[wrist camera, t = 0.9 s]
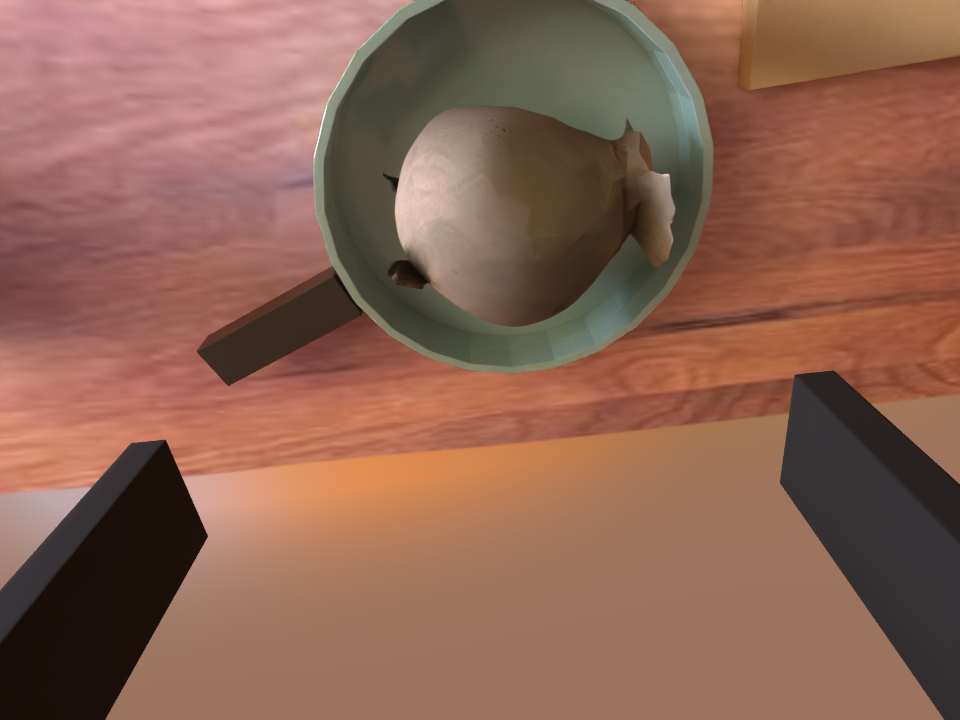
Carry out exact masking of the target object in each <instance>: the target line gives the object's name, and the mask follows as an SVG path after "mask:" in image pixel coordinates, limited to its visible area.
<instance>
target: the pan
mask: <svg viewBox="0 0 960 720" xmlns="http://www.w3.org/2000/svg"><path fill="white" fill-rule="evenodd" d="M470 105H471V106H500V107H516V108H520V109H524V110H527V111H531V112H535V113H538V114H542V115H546V116H549V117H553V118H555V119H557V120H559V121H561V122H563V123H565V124H566V125H568V126H571V127H573V128H576V129H578V130H582V131H585V132H588V133H591V134H593V135H596V136H598V137H601V138H604V139H608V140H617V139H619V138H620V137H622V136H623V134H624V131H625V125H626V119H627V118H628V120H629V122H630V124H631V126H632V128H633V130H634V131H637V132H641V133H642V135H643V137H644V139H645V141H646V143H647V145H648V147H649V148H650V153H651V159H652V164H653V170H654V172H655V173H658V174H662V175H663V174H669V175H670V187H671V196H672V199H673V203H674V206H675V213H674V217H673V222H672V223H671V224H670V228H671V232H672V235H673V238H674V241H673V244H672V246H671V249H670V253H669V257H668V260H667V261H665V262H662V265H661V266H659V267H654V266H653V265H652V264H651V262H650V261H649V259H648V258H647V256H646V255H645V253H644V251H643V250H642V248H641V247H640V245H639V244H638V243H637V241H636V240H635V239H634V238H633V236H632V235H631V234H630V235H629V236H628V238H627V239H626V240H625V242H624V243H623V244H622V246H621V249H620V250H619V251H618V253H617V254H616V255H615V256H614V257H613V258H612V259H611V260H610V261H609V263H608V264H607V265H606V267H605V268H604V269H603V271H602V272H601V273H600V275H599V276H598V277H597V279H596V280H595V281H594V282H593V284H592V285H591V286H590V287H589V288H588V289H587V290H586V292H585V293H584V294H583V295H582V296H581V297H580V298H579V299H578V300H577V301H576V302H574V303H573V304H572V305H571V306H570V307H568V308H567V309H565V310H564V311H562V312H560V313H559V314H557V315H555V316H553V317H551V318H549V319H546V320H543V321H541V322H538V323H535V324H531V325H527V326H520V327H508V326H502V325H497V324H494V323H491V322H488V321H485V320H483V319H480V318H478V317H476V316H474V315H472V314H470V313H468V312H466V311H464V310H463V309H461V308H460V307H458V306H456V305H455V304H453V303H451V302H449V301H447V300H446V299H444V298H443V297H441V296H440V295H438V294H437V293H436V292H434V291H433V290H432V289H431V288H430V287H429V286H428V285H427V284H425V285H424V288H423V289H422V290H421V289H415V288H411V287H406V286H401V285H397V284H396V282H395V281H394V280H393V279H392V278H390V277H389V276H388V272H387V269H388V267H389V266H390V264H391V263H393V262H395V261H397V260H408V258H407V256H406V253H405V251H404V249H403V247H402V245H401V243H400V240H399V237H398V232H397V226H396V219H395V201H396V194H397V193H396V192H394V191H393V190H391V189H390V181H389V180H387V179H386V178H385V177H384V176H383V172H384V173H385V174H386V175H388V176H392V177H395V178H400V173H401V170H402V166H403V163H404V160H405V158H406V156H407V154H408V152H409V150H410V148H411V147H412V145H413V143H414V142H415V140H416V139H417V137H418V136H419V134H420V133H421V132H422V130H423V129H424V128H425V127H426V125H427V124H428V123H429V122H430V121H431V120H432V119H433V118H434V117H435V116H437V115H438V114H440V113H442V112H444V111H447V110H450V109H454V108H458V107H464V106H470ZM713 147H714V144H713V139H712V135H711V130H710V126H709V121H708V117H707V112H706V108H705V103H704V99H703V95H702V92H701V90H700V89H699V87H698V85H697V83H696V81H695V79H694V78H693V76H692V74H691V72H690V70H689V69H688V67H687V65H686V63H685V61H684V59H683V58H682V56H681V54H680V52H679V50H678V49H677V47H676V45H674V42H672V41H671V40H670V39H669V38H668V37H667V36H666V35H665V34H664V33H663V32H662V31H661V30H660V29H659V28H658V27H657V26H656V25H655V24H654V23H653V22H652V21H651V20H650V19H649V18H647V17H646V16H645V15H644V14H643V13H642V12H641V11H640V10H639V9H638V8H637V7H636V6H635V5H634V4H632V3H631V2H629V1H627V0H415V1H413V2H411V3H409V4H407V5H405V6H403V7H401V9H399V10H398V11H397V12H396V13H395V14H394V15H393V16H391V17H390V18H389V19H388V20H387V21H386V22H385V23H384V24H383V25H382V26H381V27H380V28H379V29H378V30H377V31H376V32H375V33H374V34H373V35H372V36H371V37H370V38H369V39H368V40H367V41H366V42H365V43H364V44H363V45H362V46H361V47H360V48H359V49H358V50H357V51H356V52H355V54H354V55H353V57H352V59H351V61H350V63H349V64H348V66H347V68H346V70H345V71H344V73H343V75H342V77H341V78H340V80H339V82H338V84H337V86H336V87H335V89H334V91H333V93H332V94H331V96H330V98H329V100H328V101H327V104H326V108H325V112H324V116H323V120H322V124H321V128H320V132H319V136H318V140H317V145H316V149H315V153H314V158H313V168H314V204H315V214H316V217H317V221H318V224H319V227H320V231H321V234H322V238H323V241H324V244H325V248H326V251H327V254H328V258H329V260H330V262H331V264H332V266H333V267H334V269H335V271H336V272H337V274H338V275H339V277H340V279H341V280H342V282H343V284H344V285H345V287H346V289H347V290H348V292H349V294H350V295H351V297H352V299H353V300H354V301H355V303H356V304H357V305H358V306H359V307H360V308H361V309H362V310H363V311H364V312H365V313H366V314H367V315H368V316H369V317H370V318H371V319H372V320H373V321H374V322H375V323H376V324H377V325H378V326H379V327H381V328H382V329H383V330H384V331H385V332H386V333H387V334H388V335H389V336H391V337H393V338H394V339H396V340H398V341H399V342H401V343H403V344H404V345H406V346H408V347H409V348H411V349H413V350H414V351H416V352H418V353H420V354H421V355H423V356H425V357H427V358H429V359H432V360H436V361H439V362H442V363H445V364H448V365H452V366H455V367H458V368H461V369H464V370H467V371H468V370H469V371H477V372H490V373H503V374H518V373H525V372H532V371H538V370H545V369H552V368H556V367H560V366H563V365H566V364H568V363H571V362H573V361H576V360H579V359H581V358H584V357H587V356H589V355H592V354H594V353H597V352H599V351H601V350H602V349H604V348H606V347H607V346H609V345H610V344H612V343H613V342H615V341H616V340H618V339H619V338H621V337H622V336H624V335H625V334H627V333H628V332H630V331H631V330H633V329H634V328H636V327H637V326H638V325H639V324H640V323H641V322H642V321H643V320H644V319H645V318H646V317H647V316H648V315H649V314H650V313H651V312H652V311H653V310H654V309H655V308H656V307H657V306H658V305H659V304H660V303H661V302H662V301H663V300H664V299H665V298H666V296H667V295H668V294H669V293H670V291H672V289H673V288H674V286H675V284H676V283H677V281H678V279H679V278H680V276H681V274H682V273H683V271H684V269H685V268H686V266H687V264H688V263H689V261H690V259H691V258H692V256H693V254H694V252H695V251H696V249H697V246H698V242H699V239H700V236H701V233H702V230H703V226H704V223H705V220H706V217H707V213H708V210H709V207H710V204H711V200H712V181H713V161H714V148H713Z"/></svg>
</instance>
